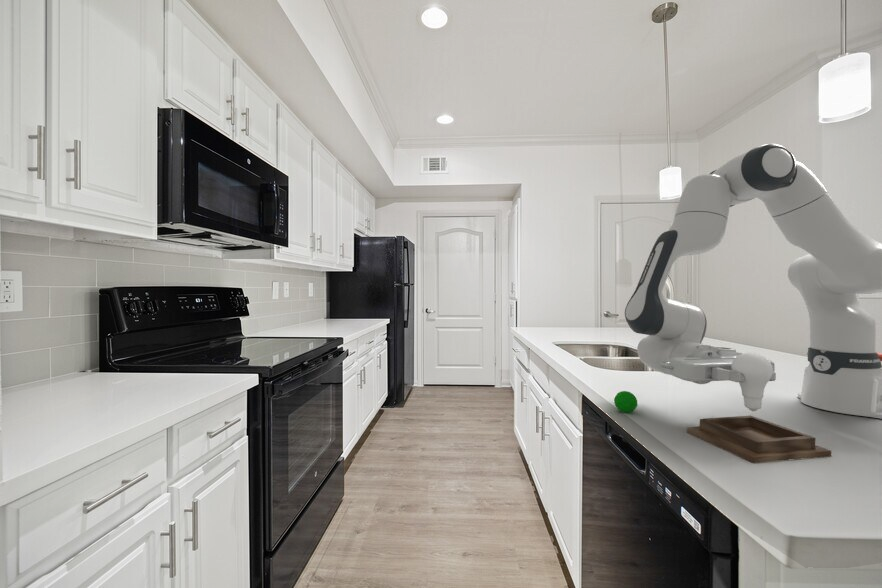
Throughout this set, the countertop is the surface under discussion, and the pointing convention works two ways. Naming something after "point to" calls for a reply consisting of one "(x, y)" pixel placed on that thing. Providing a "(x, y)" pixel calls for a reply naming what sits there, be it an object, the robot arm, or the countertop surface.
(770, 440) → the brown rimmed tray
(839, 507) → the countertop surface
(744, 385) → the lightbulb
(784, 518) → the countertop surface
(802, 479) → the countertop surface
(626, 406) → the polyhedron
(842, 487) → the countertop surface
